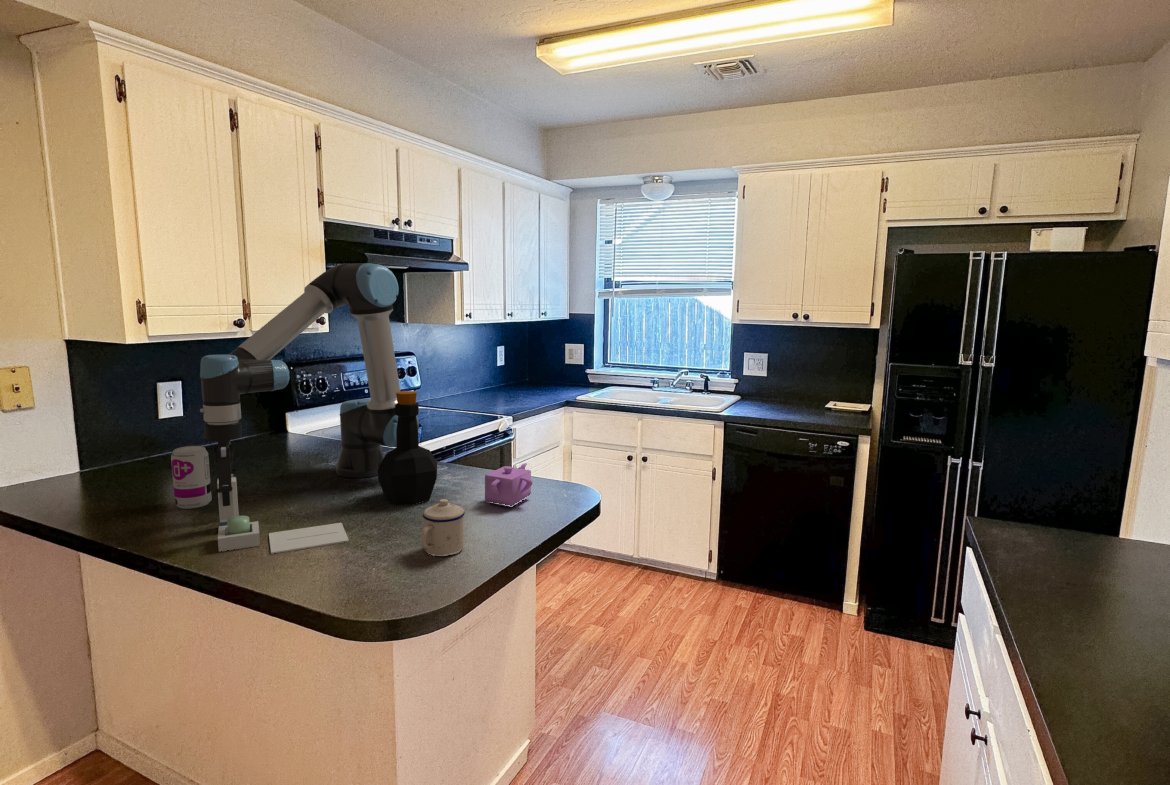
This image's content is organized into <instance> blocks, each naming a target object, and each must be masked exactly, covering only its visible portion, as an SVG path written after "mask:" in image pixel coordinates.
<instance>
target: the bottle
mask: <svg viewBox="0 0 1170 785" xmlns="http://www.w3.org/2000/svg"><path fill="white" fill-rule="evenodd" d="M417 395H418V391H415V390H414V391H413V390H400V392H396V396H397V403H396V404H395V415H397V416H398V422H397V429H396V440H397V447H394V448H393V449H392V450H390V451H387V453H386V454H385V455H384V459H383V461H382V462H381V464H380V466H379V468H378V475H377V477H378V478H377V480H378V483H379V486H380V487H381V491H382V493H383V496H384V498H385V501H386V502H387V501H388V502H387V503H390V504H392V505H395V506H398V505H399V506H401V505H402V506H403V505H404V504H415V505H417V504H416V503H418V504H420V503H419V502H421V503H423V502H422V501H424V502H426V501H425V500H427V501H429V500H428V499H431V496H432V494H433V491H434V488H435V485H436V481H437V477H438V461H437V460H436V457H435V456H434V455H433V453H432V451H431V450H430V449H428V448H425V447H423V446H419V444H420V440H419V439H420V438H419V434H420V433H419V426H418V424H417V418H416V416H417V417H418V415H419V413H420V412H419V411H420V409H419V405H420V404H419V402H417ZM404 506H405V505H404Z"/></svg>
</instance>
